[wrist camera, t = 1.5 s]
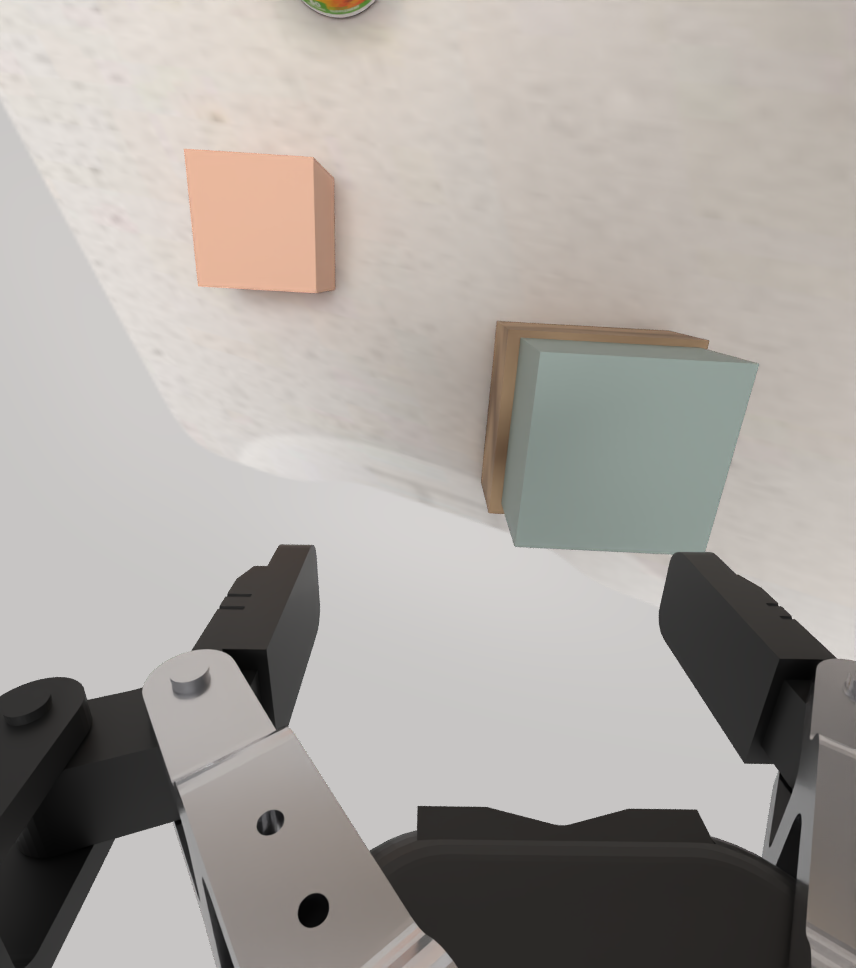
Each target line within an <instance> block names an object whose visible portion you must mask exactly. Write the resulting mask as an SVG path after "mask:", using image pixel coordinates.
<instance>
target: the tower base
mask: <svg viewBox="0 0 856 968" xmlns="http://www.w3.org/2000/svg"><path fill="white" fill-rule="evenodd" d="M520 338H537V339H554V340H572V341H590V342H608V343H626V344H644V345H662V346H680V347H698V348H704V349H707V348H708V344H709V340H705V339H701V338H697V337H692V336H688V335H684V334H680V333H676V332H672V331H664V330H646V329H628V328H610V327H593V326H575V325H557V324H539V323H521V322H504V321H497V325H496V335H495V346H494V356H493V366H492V376H491V386H490V396H489V406H488V417H487V427H486V437H485V447H484V457H483V467H482V477H481V484H482V488H483V492H484V496H485V500H486V504H487V508H488V512H489V513H495V514H504V510H503V507H502V504H501V502H502V493H503V485H504V476H505V467H506V459H507V450H508V442H509V433H510V424H511V416H512V407H513V399H514V390H515V381H516V373H517V364H518V356H519V347H520Z"/></svg>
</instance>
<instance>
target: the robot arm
mask: <svg viewBox="0 0 856 968" xmlns="http://www.w3.org/2000/svg"><path fill="white" fill-rule="evenodd" d="M319 616H320V601H319V586H318V573H317V558H316V550H315V547H314V545H283V544H282V545H279V546H278V548H277V550H276V552H275V553H274V555H273V557H272V559H271V561H270V562H269V564H268V566H254V567H252V568H251V569H250V570H248V571H247V572H245V573H244V574H243V575H241V576H240V577H239V578H237V579H236V581H235V583H234V584H233V586H232V587H231V589H230V590H229V592H228V595H227V597H225V598H224V600H223V601H222V603H221V605H220V608H219V609H218V610H217V611H216V613H215V614H214V616H213V617H212V619H211V621H210V622H209V624H208V625H207V627H206V629H205V630H204V632H203V633H202V635H201V636H200V638H199V640H198V641H197V643H196V644H195V646H194V648H193V649H192V651H190V652H186V653H183V654H180V655H177V656H175V657H173V658H171V659H169V660H167V661H165V662H164V663H162V664H161V665H159V666H158V667H157V668H156V669H155V670H154V671H153V672H152V673H151V674H150V675H149V676H148V678H147V679H146V681H145V683H144V685H143V687H142V688H140V689H136V690H132V691H128V692H123V693H118V694H113V695H109V696H104V697H99V698H95V699H90V700H87V698H86V694H85V691H84V687H83V686H82V685H81V684H80V683H79V682H78V681H76V680H74V679H71V678H65V677H55V678H54V677H53V678H46V679H40V680H36V681H33V682H30V683H27V684H24V685H21V686H19V687H17V688H15V689H12V690H10V691H9V692H7V693H5V694H3V695H2V696H0V968H52V966H53V964H54V961H55V959H56V957H57V955H58V953H59V951H60V949H61V947H62V945H63V943H64V941H65V939H66V937H67V935H68V933H69V931H70V929H71V927H72V925H73V923H74V921H75V919H76V917H77V915H78V913H79V911H80V909H81V907H82V905H83V903H84V901H85V899H86V897H87V895H88V893H89V891H90V888H91V887H92V884H93V882H94V880H95V878H96V876H97V874H98V872H99V870H100V868H101V866H102V864H103V862H104V860H105V858H106V856H107V854H108V852H109V850H110V848H111V846H112V844H113V842H114V840H115V838H118V837H122V836H125V835H129V834H132V833H135V832H139V831H142V830H146V829H149V828H153V827H156V826H160V825H163V824H166V823H170V822H173V825H174V828H175V831H176V835H177V838H178V841H179V844H180V847H181V850H182V854H183V857H184V860H185V863H186V866H187V869H188V873H189V876H190V879H191V882H192V885H193V889H194V892H195V895H196V898H197V901H198V904H199V908H200V911H201V914H202V917H203V920H204V924H205V927H206V931H207V934H208V938H209V942H210V945H211V949H212V953H213V957H214V960H215V964H216V967H217V968H856V661H852V660H846V659H837V658H836V657H835V656H834V655H833V654H832V653H831V652H830V651H828V650H827V649H826V648H825V647H824V646H823V645H822V644H821V643H820V642H819V641H818V640H817V639H816V638H815V637H813V636H812V635H811V634H810V633H809V632H808V631H807V630H806V629H805V628H804V627H803V626H802V625H801V624H800V623H799V622H797V621H796V620H795V619H792V616H791V615H790V614H789V613H788V612H787V611H786V610H785V609H784V608H783V607H781V606H778V603H777V602H776V601H775V600H774V599H773V598H772V597H771V596H770V595H769V594H768V593H767V592H765V591H764V590H763V589H762V588H761V587H759V586H757V585H756V584H754V583H752V582H750V581H748V580H747V579H745V578H743V577H741V576H740V575H736V574H735V573H734V572H733V571H732V570H731V569H730V568H729V567H728V566H727V565H726V564H725V563H724V562H723V561H722V560H721V559H720V558H719V557H718V556H717V555H715V554H714V553H711V552H676V553H674V554H673V556H672V557H671V560H670V563H669V568H668V572H667V577H666V582H665V586H664V591H663V595H662V600H661V604H660V609H659V626H660V631H661V634H662V636H663V638H664V640H665V642H666V643H667V645H668V646H669V648H670V649H671V651H672V653H673V654H674V656H675V657H676V658H677V660H678V662H679V663H680V665H681V666H682V668H683V669H684V671H685V673H686V674H687V676H688V677H689V679H690V680H691V682H692V683H693V685H694V686H695V688H696V689H697V691H698V692H699V694H700V696H701V697H702V699H703V700H704V702H705V703H706V705H707V706H708V708H709V710H710V711H711V712H712V714H713V716H714V717H715V719H716V720H717V722H718V723H719V725H720V726H721V728H722V730H723V731H724V733H725V734H726V736H727V737H728V739H729V740H730V742H731V743H732V745H733V747H734V748H735V750H736V751H737V753H738V754H739V756H740V757H741V759H742V760H743V762H744V763H747V764H774V765H775V766H776V768H777V769H778V770H779V771H778V774H777V776H776V779H775V782H774V785H773V790H772V796H771V803H770V809H769V815H768V821H767V828H766V835H765V840H764V847H763V854H762V857H760V856H758V855H756V854H754V853H752V852H750V851H748V850H746V849H743V848H741V847H739V846H737V845H734V844H732V843H729V842H726V841H724V840H721V839H718V838H715V837H711V836H710V835H709V833H708V831H707V829H706V827H705V825H704V823H703V821H702V819H701V817H700V815H699V813H698V811H697V810H681V809H679V810H678V809H677V810H676V809H626V810H622V811H619V812H615V813H611V814H607V815H604V816H600V817H596V818H592V819H589V820H585V821H581V822H578V823H574V824H571V825H565V826H564V825H554V824H550V823H546V822H542V821H539V820H535V819H531V818H527V817H523V816H519V815H515V814H512V813H507V812H504V811H499V810H496V809H492V808H488V807H446V806H443V807H442V806H418V815H417V831H413V832H409V833H405V834H402V835H400V836H397V837H395V838H393V839H390V840H388V841H386V842H384V843H382V844H381V845H379V846H377V847H375V848H373V849H372V850H370V851H369V850H368V848H367V847H366V845H365V843H364V842H363V841H362V839H361V837H360V836H359V834H358V833H357V831H356V830H355V828H354V826H353V825H352V823H351V821H350V820H349V818H348V817H347V815H346V814H345V812H344V811H343V809H342V807H341V806H340V804H339V803H338V801H337V800H336V798H335V796H334V795H333V793H332V792H331V790H330V789H329V787H328V785H327V784H326V782H325V781H324V779H323V777H322V776H321V774H320V773H319V771H318V770H317V768H316V767H315V765H314V763H313V762H312V760H311V759H310V757H309V755H308V754H307V752H306V751H305V749H304V748H303V746H302V744H301V743H300V741H299V740H298V738H297V737H296V735H295V734H294V732H293V731H292V730H291V729H290V728H289V727H288V725H289V722H290V719H291V715H292V712H293V709H294V706H295V703H296V699H297V696H298V693H299V690H300V686H301V683H302V679H303V676H304V673H305V670H306V667H307V663H308V661H309V657H310V654H311V651H312V647H313V644H314V641H315V638H316V634H317V631H318V626H319Z"/></svg>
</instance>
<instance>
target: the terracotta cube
mask: <svg viewBox="0 0 856 968" xmlns="http://www.w3.org/2000/svg"><path fill="white" fill-rule="evenodd" d="M184 154H185V164H186V173H187V183H188V193H189V203H190V212H191V222H192V232H193V241H194V251H195V261H196V271H197V280H198V286H202V287H219V288H236V289H253V290H270V291H287V292H304V293H320V292H325V291H331V290H335V216H334V178H333V177H332V176H331V175H330V174H329V173H328V172H327V171H326V170H325V169H324V168H323V167H322V166H321V165H320V164H319V163H318V162H317V160H316V159H315V158H314V157H303V156H288V155H272V154H257V153H241V152H225V151H210V150H194V149H184Z"/></svg>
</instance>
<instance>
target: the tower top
mask: <svg viewBox="0 0 856 968" xmlns="http://www.w3.org/2000/svg"><path fill="white" fill-rule="evenodd" d="M758 366H759V364H758V363H754V362H750V361H747V360H743V359H740V358H736V357H732V356H729V355H725V354H722V353H718V352H714V351H711V350H707V349H704V348H698V347H680V346H662V345H644V344H626V343H608V342H590V341H572V340H554V339H537V338H520V347H519V356H518V364H517V373H516V381H515V390H514V399H513V407H512V416H511V424H510V433H509V442H508V450H507V459H506V467H505V476H504V485H503V493H502V502H501V504H502V507H503V510H504V514H505V517H506V520H507V523H508V527H509V530H510V533H511V536H512V539H513V543H514V546H515V547H530V548H549V549H570V550H590V551H611V552H631V553H652V554H672V555H673V554H674V553H676V552H705V550H706V547H707V543H708V540H709V537H710V533H711V530H712V526H713V523H714V519H715V516H716V512H717V509H718V505H719V502H720V498H721V495H722V491H723V488H724V484H725V481H726V477H727V474H728V471H729V467H730V464H731V460H732V457H733V453H734V450H735V446H736V443H737V439H738V436H739V432H740V429H741V425H742V422H743V418H744V415H745V411H746V408H747V405H748V401H749V398H750V394H751V391H752V387H753V384H754V380H755V377H756V373H757V370H758Z"/></svg>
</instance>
